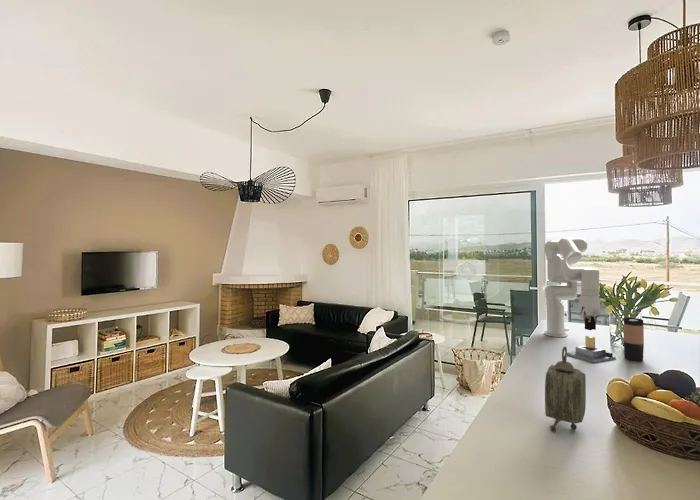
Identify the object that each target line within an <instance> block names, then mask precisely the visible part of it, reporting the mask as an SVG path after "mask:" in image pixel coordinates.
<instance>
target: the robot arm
mask: <svg viewBox="0 0 700 500" xmlns="http://www.w3.org/2000/svg"><path fill="white" fill-rule="evenodd" d="M587 249H588V243H587V240H585V238H583V237H564V238H563V237H562V238H561V239H557V240H556V239H555V240H549V241H548V240H547V241H546V242H545V244H544V253H545V257H546V260H547V261H546V262H547V266H546V267H547V270H546V271H547V280H548V281H549V283H550V282H551V283H554V284H550V285H547V286H546V287H545V289H544V294H545V299H546V301H545V302H546V330H544V332H543V334H544V335H545V336H548V337H549V336H550V337H553V338H554V337H555V338H566V337H568V333H566V332H569V331H570V329H569V328H568V327H565V306H564V304H563V303H562V302H561V301H574V300H576V299H577V297H578V282H580V289H581V290H580V294H581V295H580V296H579V300H578V301H579V302H578V315H580V318H581V319H583V321H584V330H586V331H592V330H593V331H595V330H597V321H598V320H597V319H598V317H600V314H601V300H600V270H599V269H597V268H593V267H590V266H589V267H588V266H586V267H585V266H584V267H582V266H575V267H574V266H573V267H572V265H574V264H577V263H579V262H580V261H581V260H582V257H583V255H582V253H584V252H586V250H587ZM561 256H562V257H563V258H562V257H561ZM555 283H559V284H555ZM560 283H561V284H560ZM562 283H563V284H562ZM565 283H566V284H565Z"/></svg>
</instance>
